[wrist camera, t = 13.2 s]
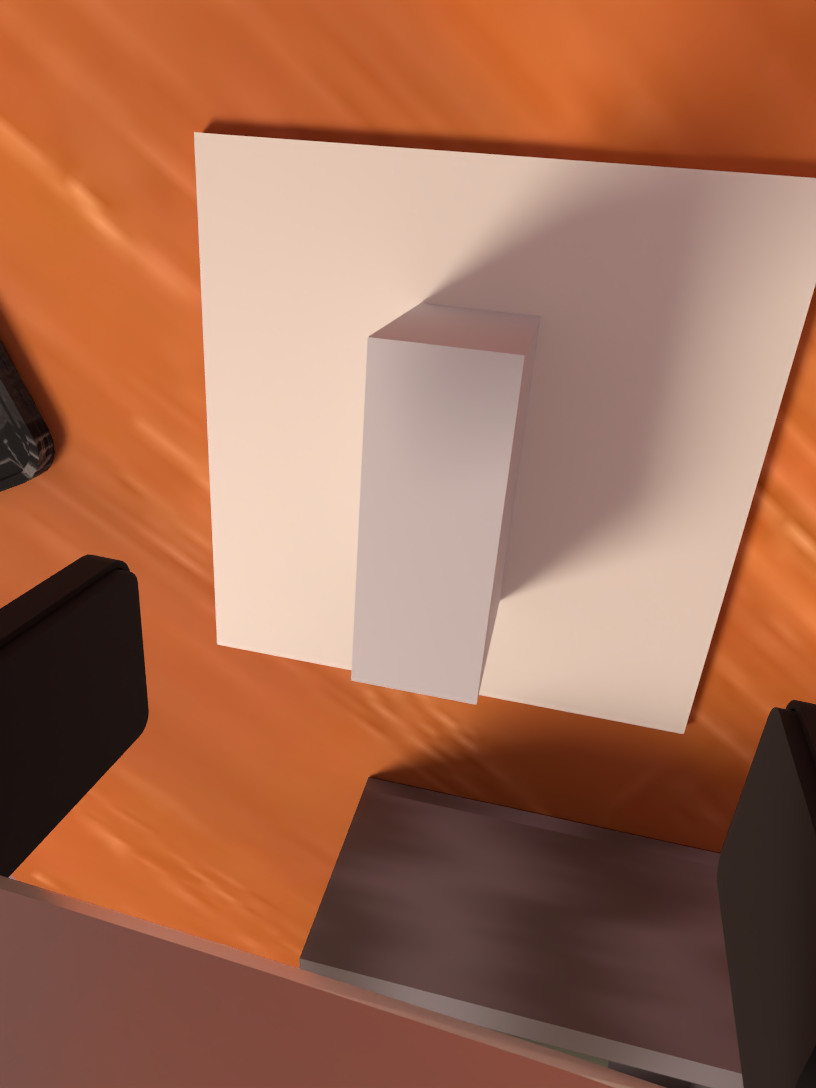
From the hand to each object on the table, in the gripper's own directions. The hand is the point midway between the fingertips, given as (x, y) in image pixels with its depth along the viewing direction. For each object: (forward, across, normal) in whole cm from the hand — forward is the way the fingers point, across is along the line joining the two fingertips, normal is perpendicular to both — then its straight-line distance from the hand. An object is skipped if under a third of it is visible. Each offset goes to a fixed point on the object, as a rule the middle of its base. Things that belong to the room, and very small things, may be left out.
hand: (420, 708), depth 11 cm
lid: (+11, +2, 0) cm, 12 cm away
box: (+11, -3, +19) cm, 22 cm away
